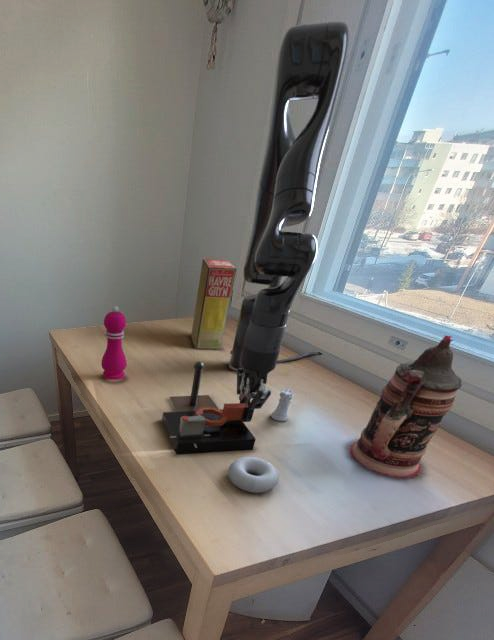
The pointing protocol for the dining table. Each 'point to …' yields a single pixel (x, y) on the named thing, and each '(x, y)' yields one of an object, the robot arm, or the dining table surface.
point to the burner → (214, 428)
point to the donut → (250, 482)
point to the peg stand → (194, 395)
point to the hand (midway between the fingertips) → (243, 417)
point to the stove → (208, 436)
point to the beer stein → (408, 413)
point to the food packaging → (212, 303)
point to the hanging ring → (223, 413)
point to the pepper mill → (114, 345)
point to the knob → (191, 427)
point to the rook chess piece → (283, 406)
